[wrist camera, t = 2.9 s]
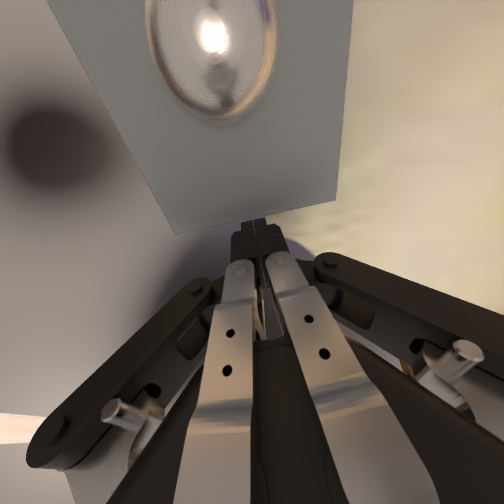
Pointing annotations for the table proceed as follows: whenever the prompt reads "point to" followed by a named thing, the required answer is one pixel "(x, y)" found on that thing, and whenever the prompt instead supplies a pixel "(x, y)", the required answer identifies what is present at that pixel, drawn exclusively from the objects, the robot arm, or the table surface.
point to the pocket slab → (223, 136)
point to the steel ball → (213, 54)
